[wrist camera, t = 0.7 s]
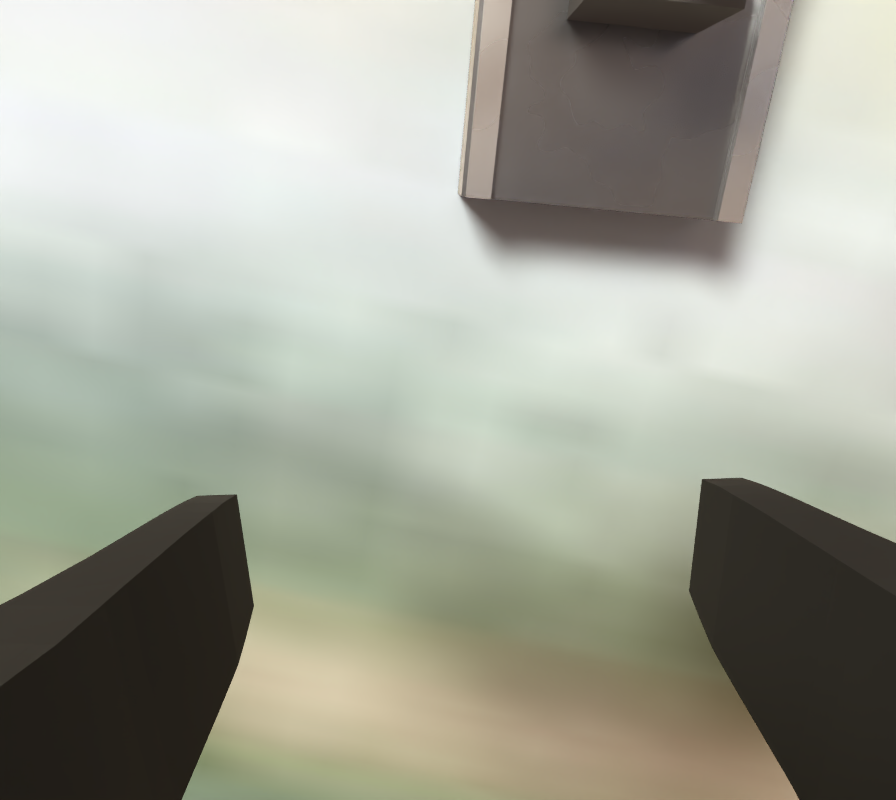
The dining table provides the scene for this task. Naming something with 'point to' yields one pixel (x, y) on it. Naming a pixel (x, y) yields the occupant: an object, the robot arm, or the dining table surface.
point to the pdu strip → (618, 109)
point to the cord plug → (656, 13)
